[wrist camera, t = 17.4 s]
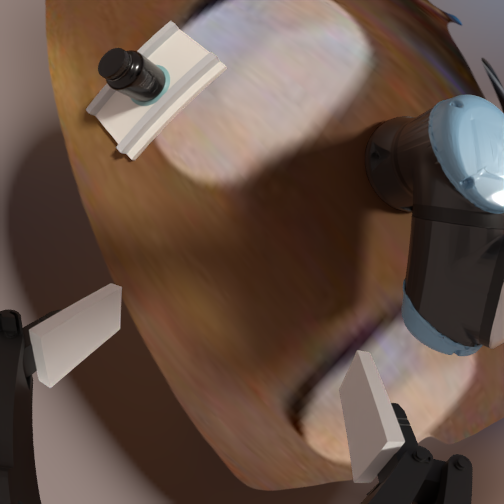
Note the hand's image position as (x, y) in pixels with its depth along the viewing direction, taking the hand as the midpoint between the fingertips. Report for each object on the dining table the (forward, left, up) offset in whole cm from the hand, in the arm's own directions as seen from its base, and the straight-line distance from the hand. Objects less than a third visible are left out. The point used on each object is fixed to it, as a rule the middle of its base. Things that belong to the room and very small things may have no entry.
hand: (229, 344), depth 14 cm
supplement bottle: (-3, -34, -30) cm, 46 cm away
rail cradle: (-3, -34, -32) cm, 47 cm away
